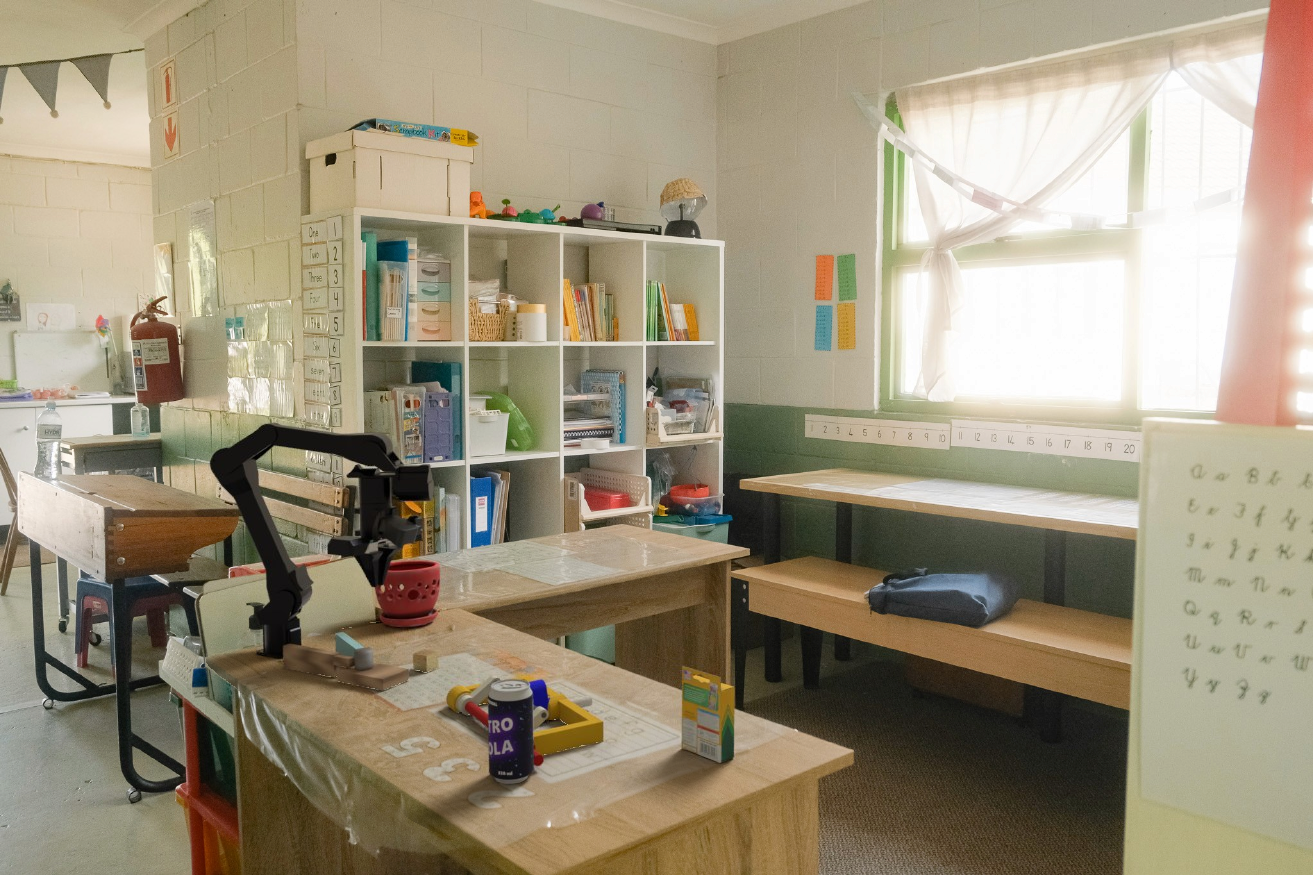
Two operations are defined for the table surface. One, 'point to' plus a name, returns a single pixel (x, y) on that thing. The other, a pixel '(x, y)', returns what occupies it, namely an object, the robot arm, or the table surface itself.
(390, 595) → the plant pot
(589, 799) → the table surface
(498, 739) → the beverage can
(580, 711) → the mechanical clamp
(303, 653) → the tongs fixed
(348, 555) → the robot arm
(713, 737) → the crayon box
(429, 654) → the block
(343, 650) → the bar
